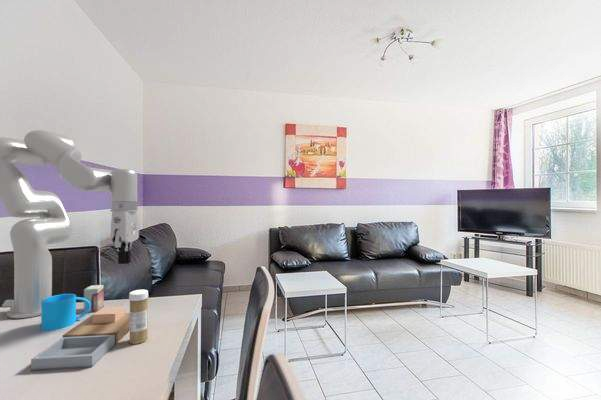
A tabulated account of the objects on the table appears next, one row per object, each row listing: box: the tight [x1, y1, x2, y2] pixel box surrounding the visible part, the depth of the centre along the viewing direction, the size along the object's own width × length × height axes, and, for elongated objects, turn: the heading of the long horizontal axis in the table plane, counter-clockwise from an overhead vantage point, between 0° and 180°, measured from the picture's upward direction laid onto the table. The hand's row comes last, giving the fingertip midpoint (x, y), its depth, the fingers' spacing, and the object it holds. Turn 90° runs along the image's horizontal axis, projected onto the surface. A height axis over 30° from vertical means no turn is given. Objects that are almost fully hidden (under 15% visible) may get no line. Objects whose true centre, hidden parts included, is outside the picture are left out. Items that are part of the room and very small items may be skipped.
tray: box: [30, 335, 116, 372], centre depth 72 cm, size 13×11×3 cm
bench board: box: [62, 312, 130, 345], centre depth 84 cm, size 13×14×3 cm
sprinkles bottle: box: [128, 289, 149, 345], centre depth 80 cm, size 5×5×14 cm
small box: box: [83, 284, 105, 313], centre depth 102 cm, size 5×4×8 cm
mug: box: [40, 293, 91, 332], centre depth 91 cm, size 12×8×8 cm
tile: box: [92, 305, 126, 323], centre depth 87 cm, size 6×6×2 cm
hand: (124, 263), depth 96 cm, fingers closed
